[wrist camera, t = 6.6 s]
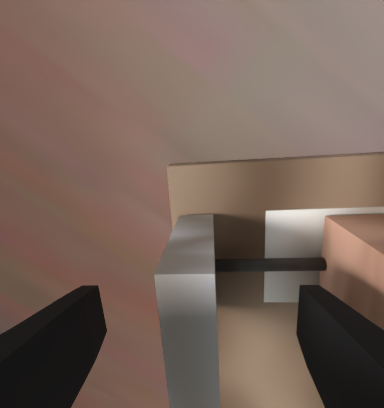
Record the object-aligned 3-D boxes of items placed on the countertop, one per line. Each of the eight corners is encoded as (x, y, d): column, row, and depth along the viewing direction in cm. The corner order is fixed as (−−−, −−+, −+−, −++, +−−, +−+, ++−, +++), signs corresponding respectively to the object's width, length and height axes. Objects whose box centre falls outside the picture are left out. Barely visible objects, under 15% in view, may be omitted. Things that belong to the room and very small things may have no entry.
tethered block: (435, 206, 10) (647, 269, 5) (413, 305, 11) (565, 429, 6) (179, 215, 11) (153, 274, 6) (186, 305, 12) (170, 411, 7)
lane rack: (602, 139, 10) (816, 139, 6) (491, 425, 15) (582, 517, 11) (171, 163, 12) (153, 174, 8) (192, 411, 16) (186, 487, 13)
